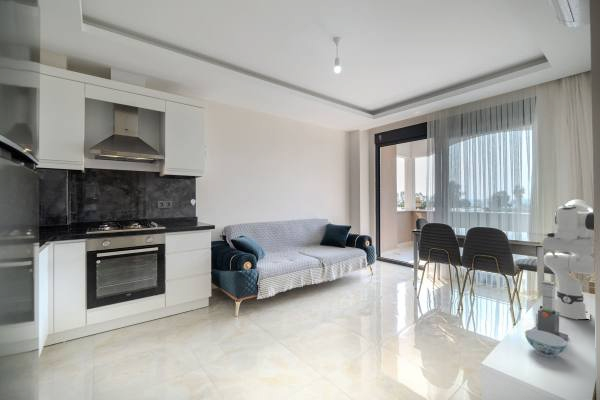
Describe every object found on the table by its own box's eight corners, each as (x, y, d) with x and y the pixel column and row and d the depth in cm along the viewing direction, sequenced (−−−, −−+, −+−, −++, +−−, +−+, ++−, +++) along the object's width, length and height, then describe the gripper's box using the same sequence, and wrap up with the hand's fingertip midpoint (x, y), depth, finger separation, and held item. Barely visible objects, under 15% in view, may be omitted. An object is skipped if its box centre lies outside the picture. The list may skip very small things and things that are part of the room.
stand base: (537, 327, 156) (537, 304, 156) (568, 337, 145) (568, 312, 145) (528, 333, 149) (528, 309, 149) (560, 344, 138) (560, 318, 138)
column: (544, 319, 150) (545, 280, 150) (555, 323, 146) (556, 282, 146) (541, 321, 148) (541, 281, 148) (552, 325, 144) (553, 284, 144)
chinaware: (571, 356, 128) (571, 339, 128) (560, 366, 120) (560, 349, 120) (531, 341, 141) (531, 326, 141) (519, 350, 133) (519, 334, 133)
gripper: (595, 237, 143) (595, 263, 143) (545, 232, 160) (545, 255, 160) (592, 238, 140) (592, 264, 140) (541, 233, 157) (541, 257, 157)
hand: (566, 259), depth 150 cm, fingers open, 8 cm apart
